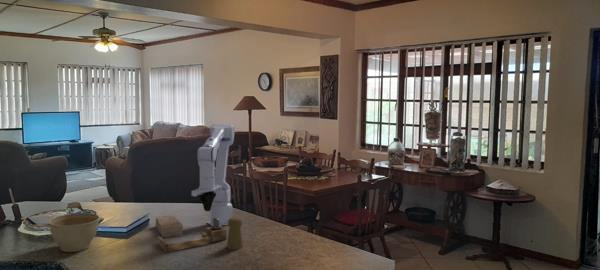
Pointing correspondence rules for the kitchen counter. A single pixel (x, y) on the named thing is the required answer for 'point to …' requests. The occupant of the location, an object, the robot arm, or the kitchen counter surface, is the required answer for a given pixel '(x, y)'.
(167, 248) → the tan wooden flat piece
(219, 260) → the kitchen counter surface
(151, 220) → the kitchen counter surface
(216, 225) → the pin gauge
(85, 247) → the planter bowl
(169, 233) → the brick
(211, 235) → the walnut gauge block
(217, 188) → the robot arm
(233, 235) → the cork
